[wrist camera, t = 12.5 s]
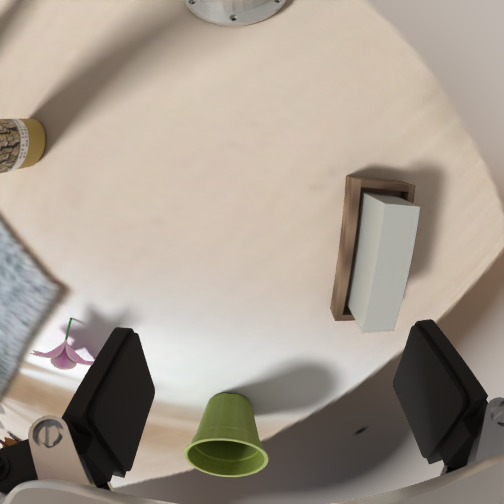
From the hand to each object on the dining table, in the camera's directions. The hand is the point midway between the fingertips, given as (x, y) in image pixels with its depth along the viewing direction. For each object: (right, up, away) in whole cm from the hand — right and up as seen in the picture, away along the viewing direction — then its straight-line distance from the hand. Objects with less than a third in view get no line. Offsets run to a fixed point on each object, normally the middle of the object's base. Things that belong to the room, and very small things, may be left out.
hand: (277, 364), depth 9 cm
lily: (-29, -10, +32) cm, 45 cm away
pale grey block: (+13, +4, +25) cm, 29 cm away
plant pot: (-4, -22, +36) cm, 42 cm away
